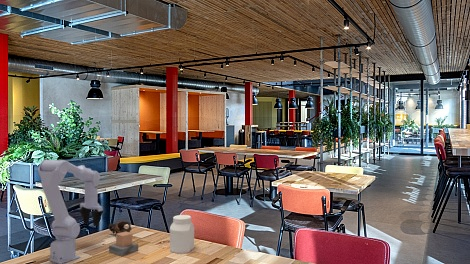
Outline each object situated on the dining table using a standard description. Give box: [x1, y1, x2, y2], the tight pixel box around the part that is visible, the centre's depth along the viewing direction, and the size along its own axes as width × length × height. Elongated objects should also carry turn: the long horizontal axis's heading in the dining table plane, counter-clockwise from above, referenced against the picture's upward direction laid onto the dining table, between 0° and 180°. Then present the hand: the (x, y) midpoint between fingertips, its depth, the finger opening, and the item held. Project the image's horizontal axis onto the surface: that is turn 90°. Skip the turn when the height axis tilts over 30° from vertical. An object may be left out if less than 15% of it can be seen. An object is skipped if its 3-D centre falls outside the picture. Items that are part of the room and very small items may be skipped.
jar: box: [169, 214, 195, 254], centre depth 170 cm, size 12×10×15 cm
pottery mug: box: [108, 220, 132, 234], centre depth 192 cm, size 12×9×8 cm
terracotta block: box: [115, 232, 133, 247], centre depth 167 cm, size 5×5×5 cm
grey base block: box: [108, 241, 139, 257], centre depth 167 cm, size 9×9×4 cm
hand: (91, 224), depth 174 cm, fingers open, 7 cm apart
